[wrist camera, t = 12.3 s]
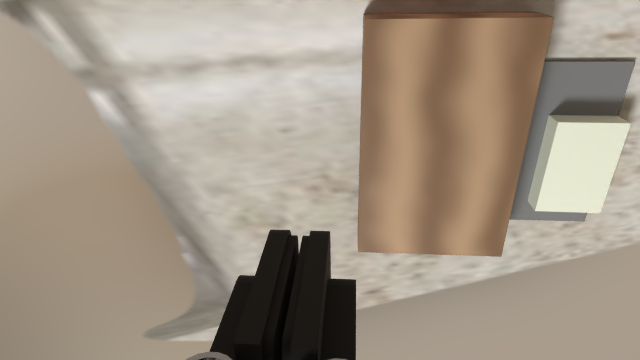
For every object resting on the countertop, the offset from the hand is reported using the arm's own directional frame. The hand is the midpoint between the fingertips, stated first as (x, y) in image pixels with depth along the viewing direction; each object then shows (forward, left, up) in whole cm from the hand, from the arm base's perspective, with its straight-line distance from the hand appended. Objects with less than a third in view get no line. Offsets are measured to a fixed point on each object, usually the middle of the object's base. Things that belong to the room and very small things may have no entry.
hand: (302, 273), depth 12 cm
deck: (-9, +7, -29) cm, 31 cm away
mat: (-21, +8, -29) cm, 36 cm away
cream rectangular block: (-22, +9, -27) cm, 36 cm away
